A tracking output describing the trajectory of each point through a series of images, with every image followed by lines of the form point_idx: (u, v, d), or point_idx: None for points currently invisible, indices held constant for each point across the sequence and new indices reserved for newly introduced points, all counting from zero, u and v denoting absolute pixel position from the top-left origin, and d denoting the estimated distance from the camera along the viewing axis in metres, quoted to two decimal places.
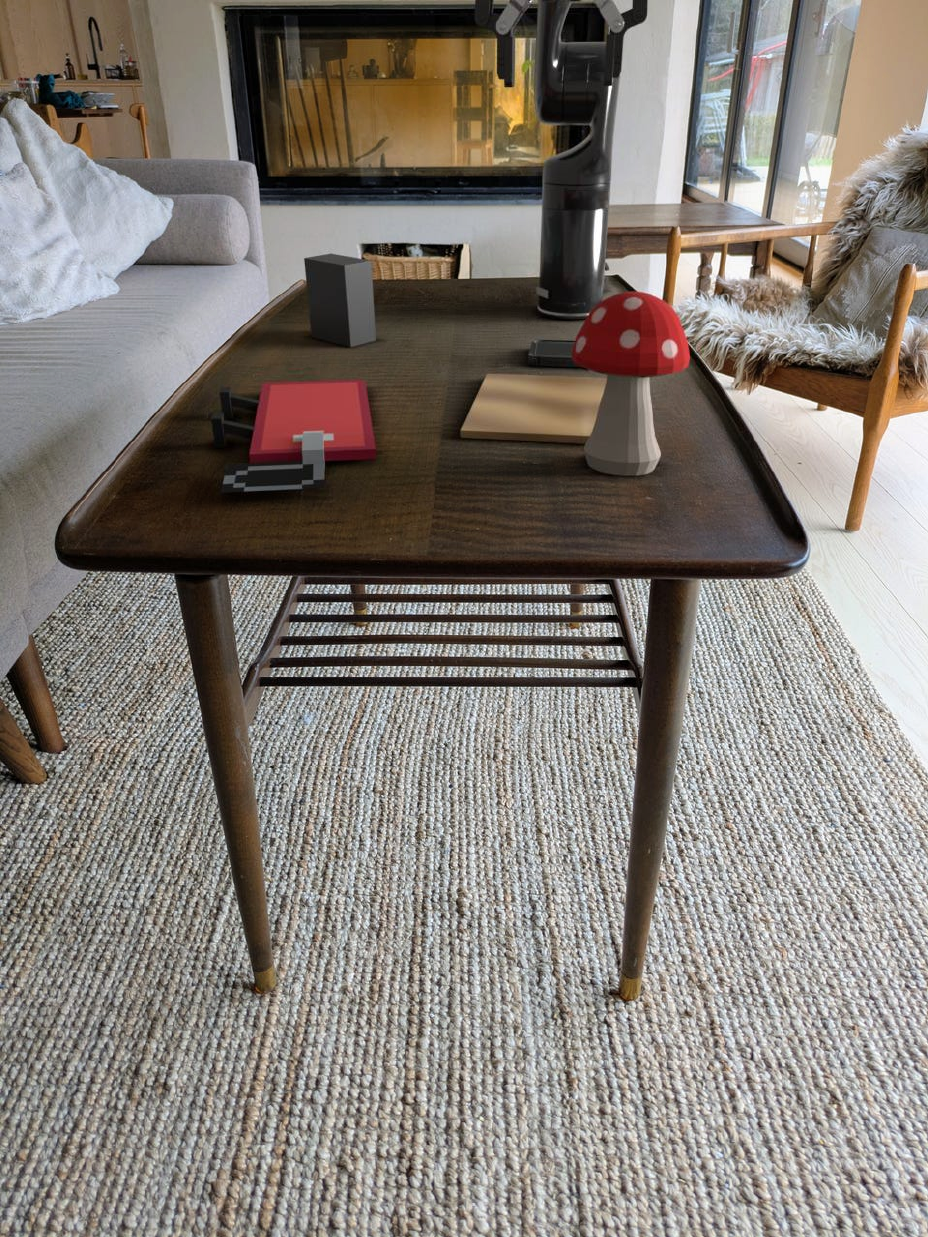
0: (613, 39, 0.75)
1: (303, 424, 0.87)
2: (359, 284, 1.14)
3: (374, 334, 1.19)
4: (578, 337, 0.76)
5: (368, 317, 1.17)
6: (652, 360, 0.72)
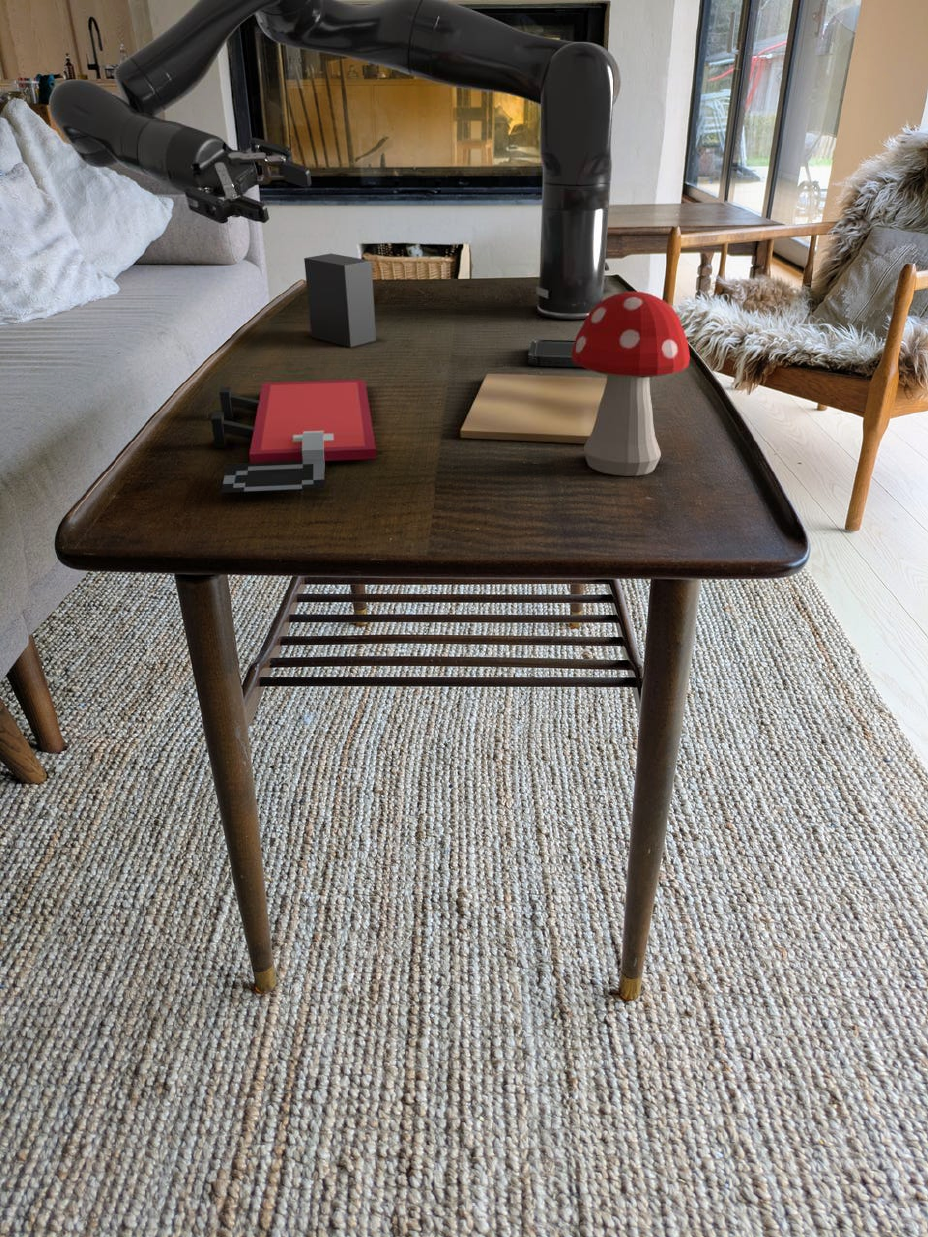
0: (287, 161, 1.11)
1: (303, 424, 0.87)
2: (359, 283, 1.14)
3: (374, 334, 1.19)
4: (578, 337, 0.76)
5: (368, 317, 1.17)
6: (652, 360, 0.72)
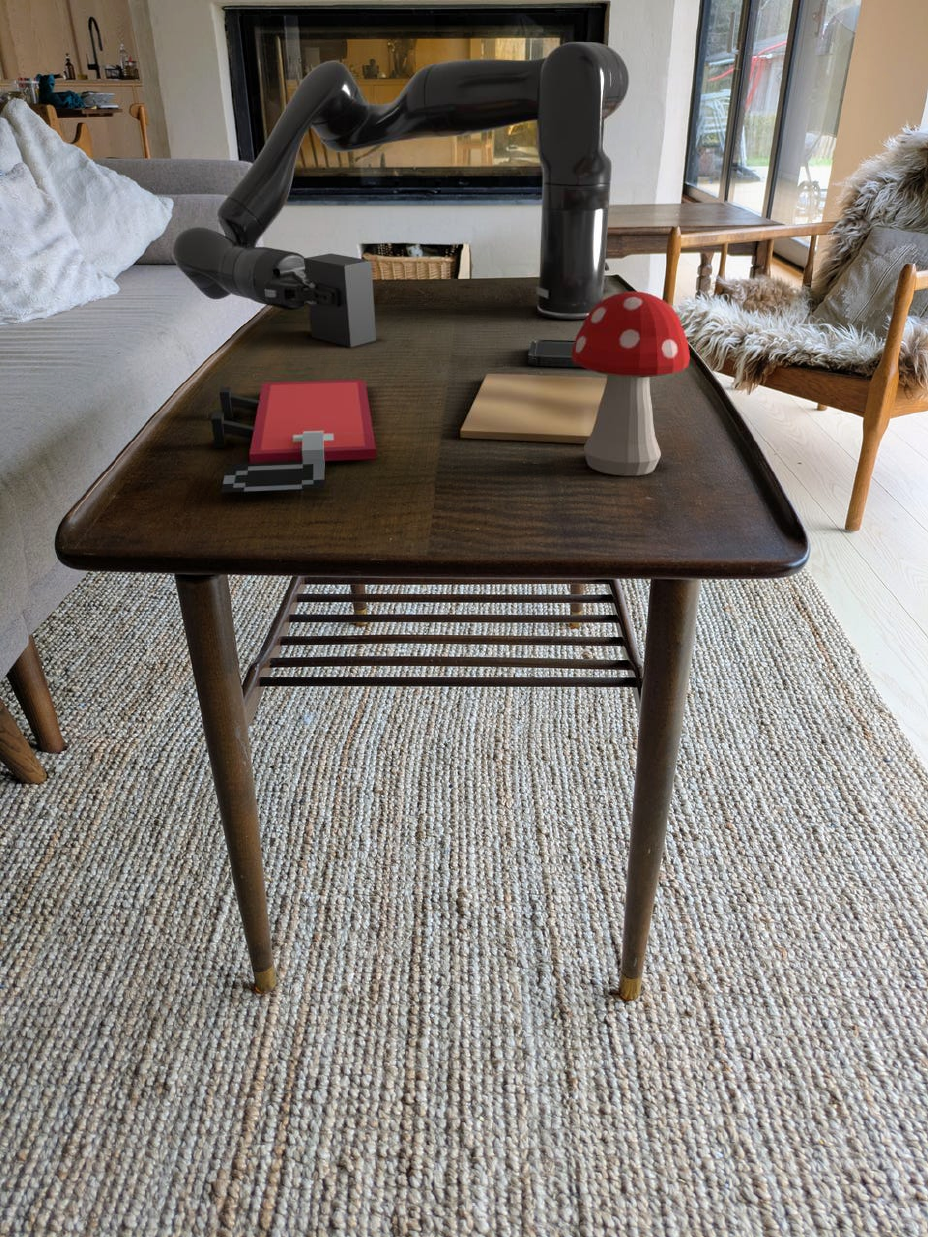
0: None
1: (303, 424, 0.87)
2: (359, 283, 1.14)
3: (374, 334, 1.19)
4: (578, 337, 0.76)
5: (368, 317, 1.17)
6: (652, 360, 0.72)
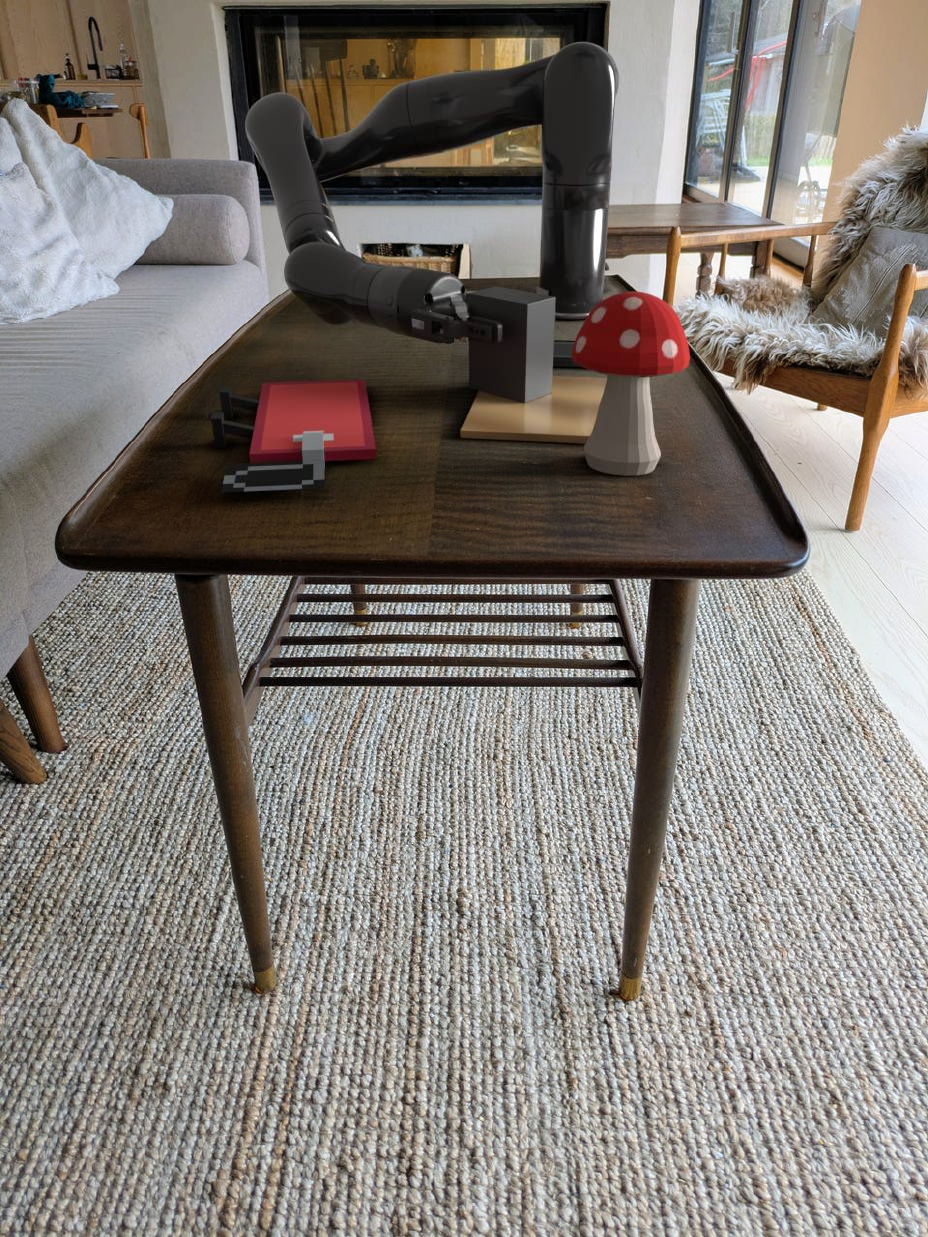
0: None
1: (303, 424, 0.87)
2: (540, 326, 0.91)
3: (550, 386, 0.96)
4: (578, 337, 0.76)
5: (546, 366, 0.94)
6: (652, 360, 0.72)
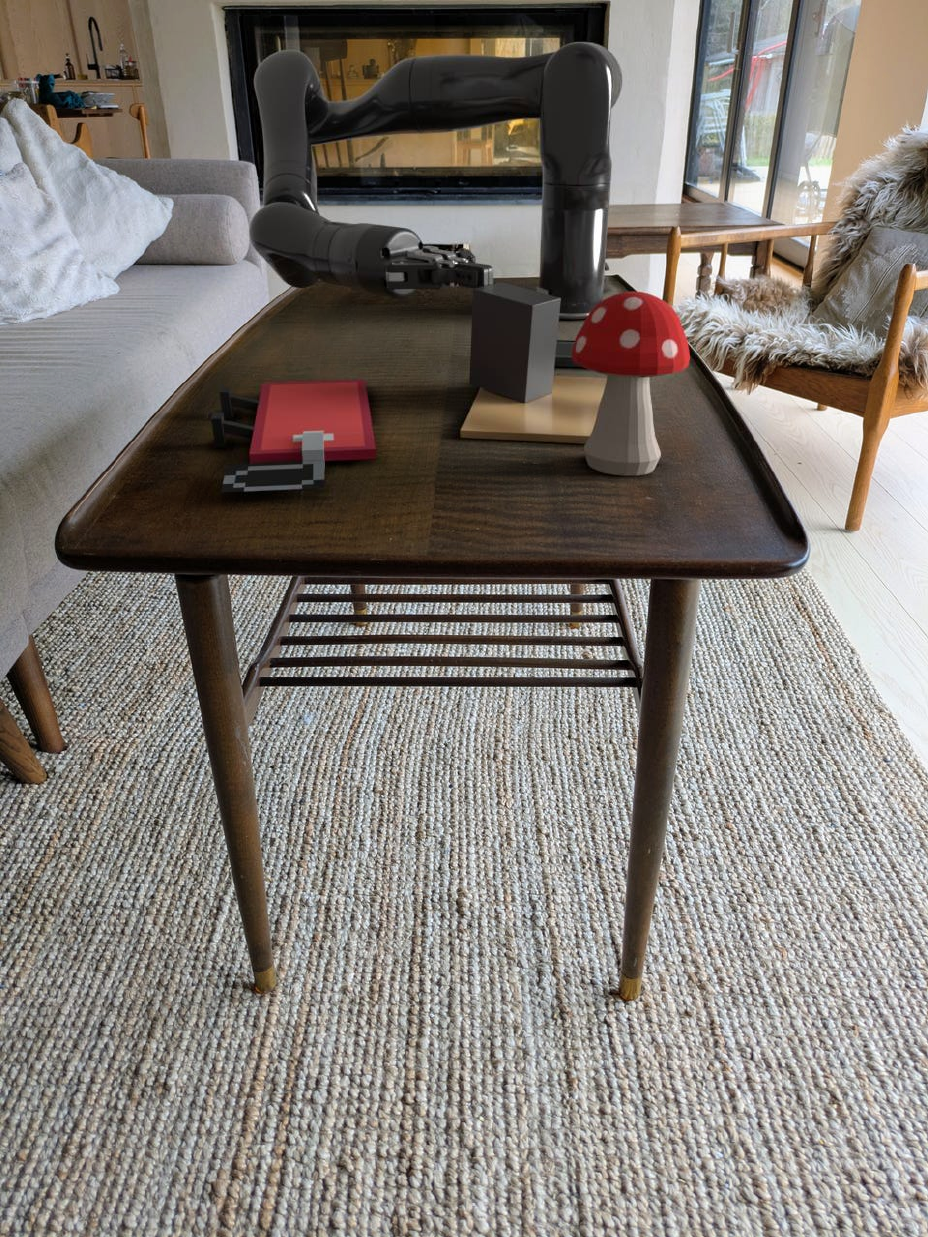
0: (469, 262, 0.96)
1: (303, 424, 0.87)
2: (544, 327, 0.91)
3: (551, 386, 0.96)
4: (578, 337, 0.76)
5: (548, 367, 0.94)
6: (652, 360, 0.72)
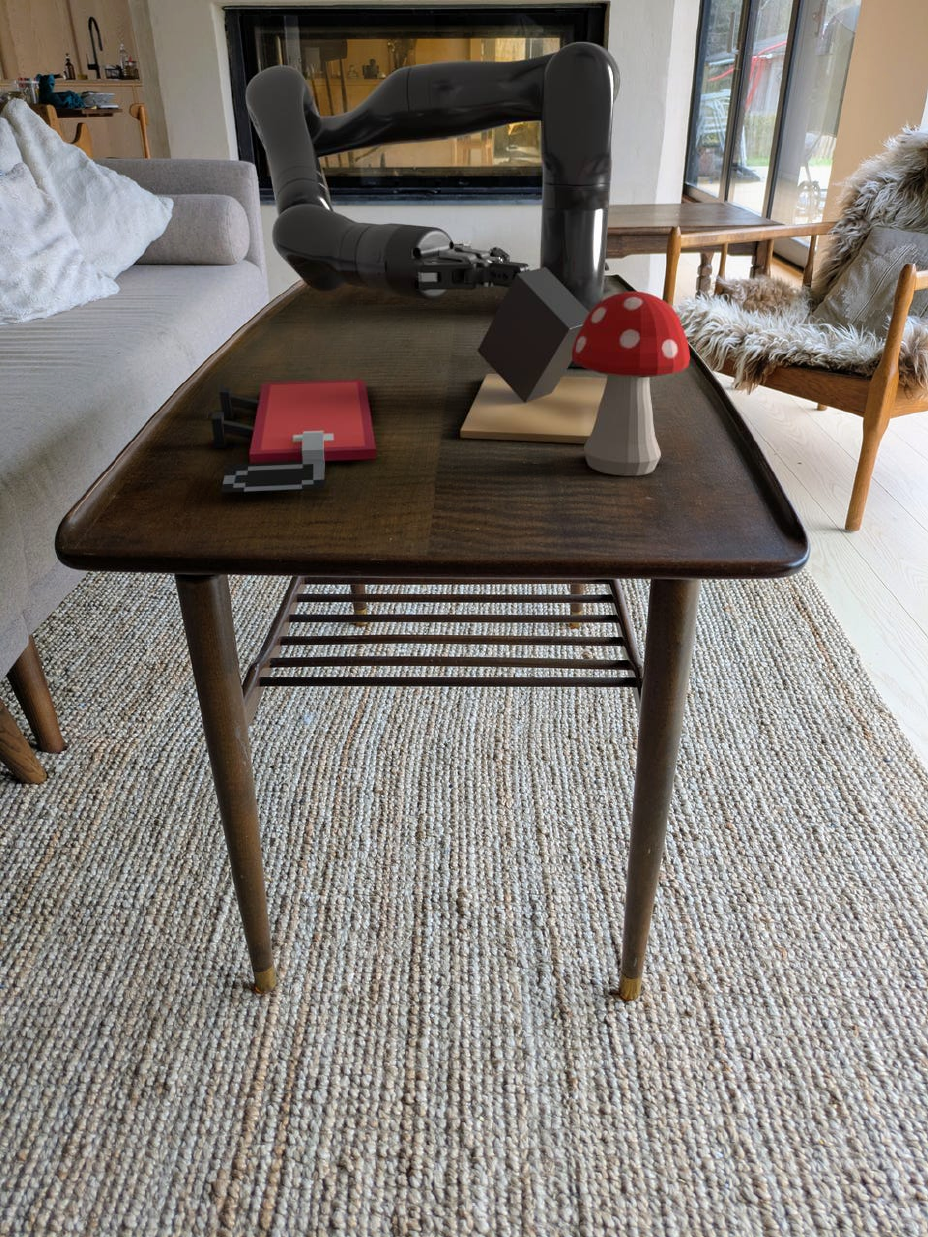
0: (504, 260, 0.93)
1: (303, 424, 0.87)
2: (571, 344, 0.90)
3: (553, 388, 0.96)
4: (578, 337, 0.76)
5: (558, 374, 0.94)
6: (652, 360, 0.72)
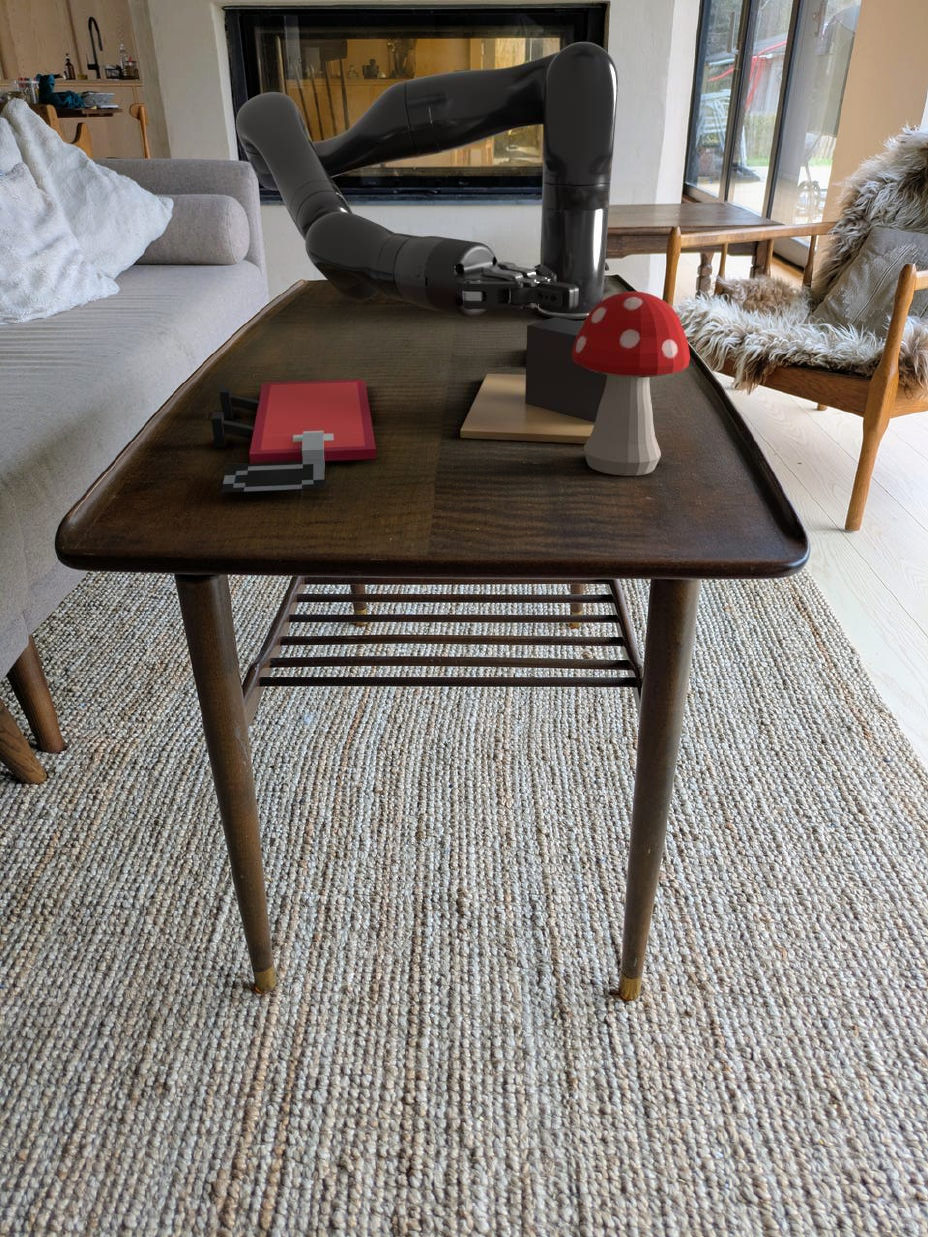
0: (551, 280, 0.89)
1: (303, 424, 0.87)
2: None
3: None
4: (578, 337, 0.76)
5: None
6: (652, 360, 0.72)
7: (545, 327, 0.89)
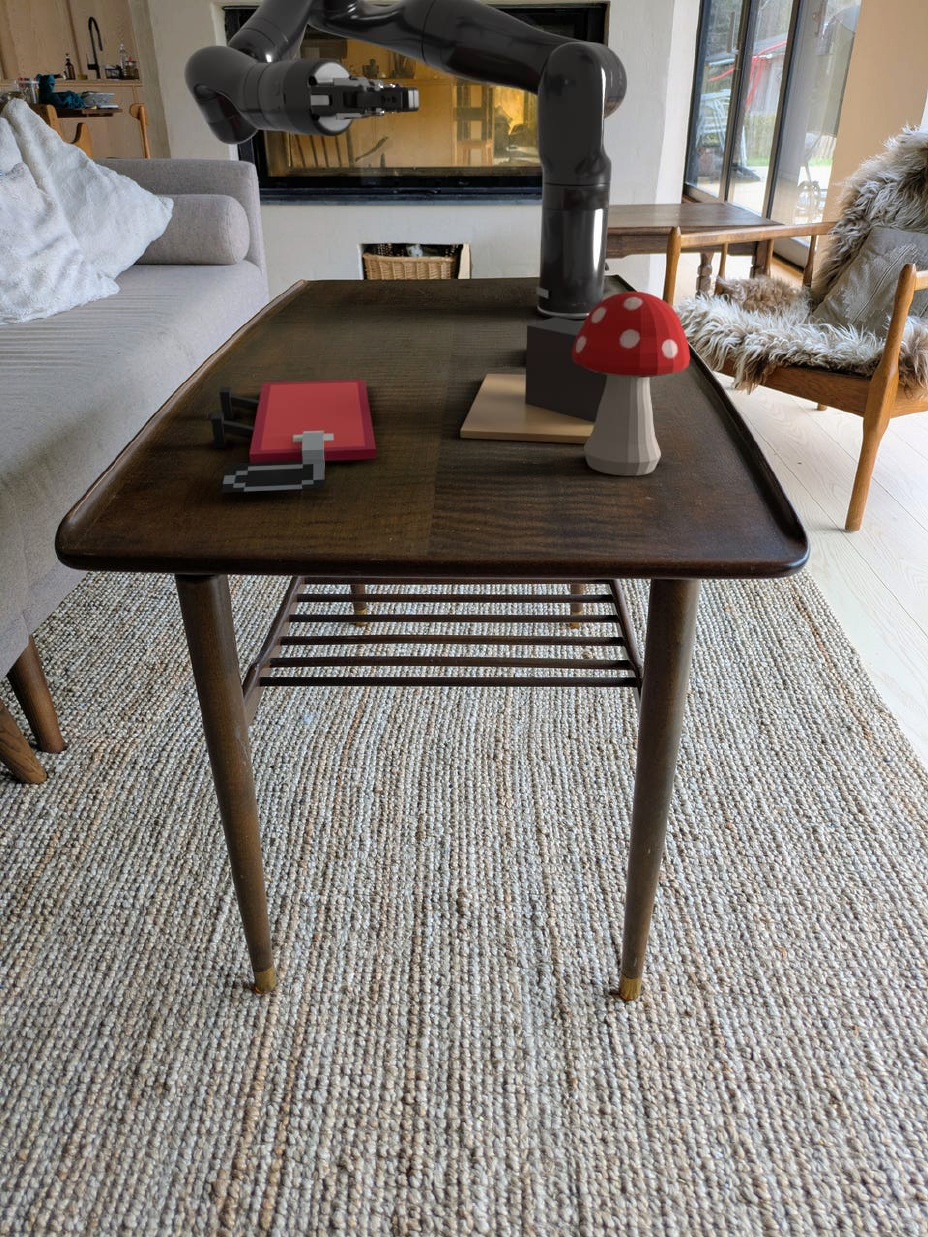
0: (395, 86, 0.94)
1: (303, 424, 0.87)
2: None
3: None
4: (578, 337, 0.76)
5: None
6: (652, 360, 0.72)
7: (545, 327, 0.89)
